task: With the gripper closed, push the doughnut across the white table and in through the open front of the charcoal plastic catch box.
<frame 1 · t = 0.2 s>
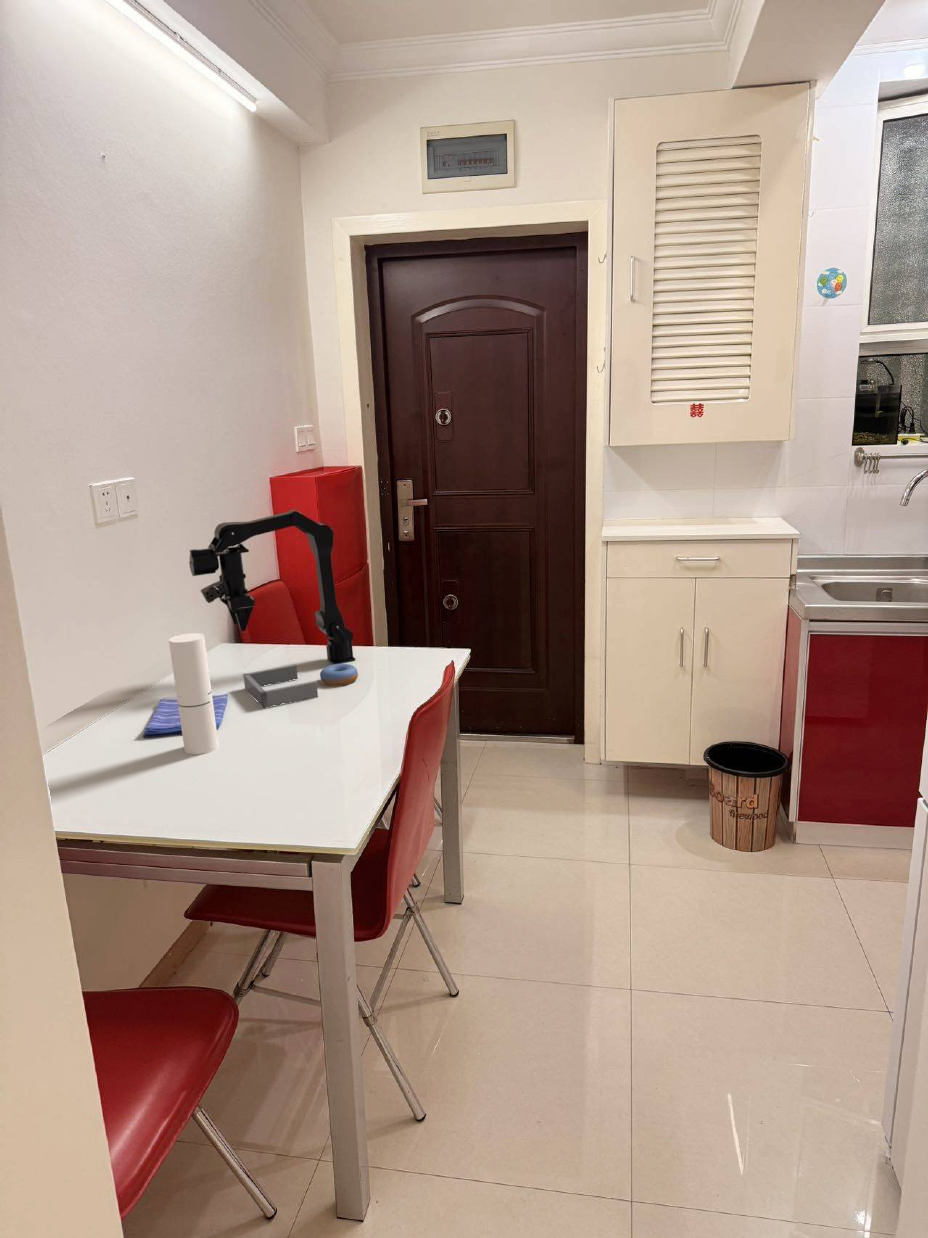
hand: (239, 627, 227), 14 cm above the table, tool pointing down, fingers open, 9 cm apart
doughnut: (339, 682, 225), on the table
cylindrical container: (201, 748, 184), on the table
catch box: (280, 692, 218), on the table
dish towel: (188, 720, 204), on the table
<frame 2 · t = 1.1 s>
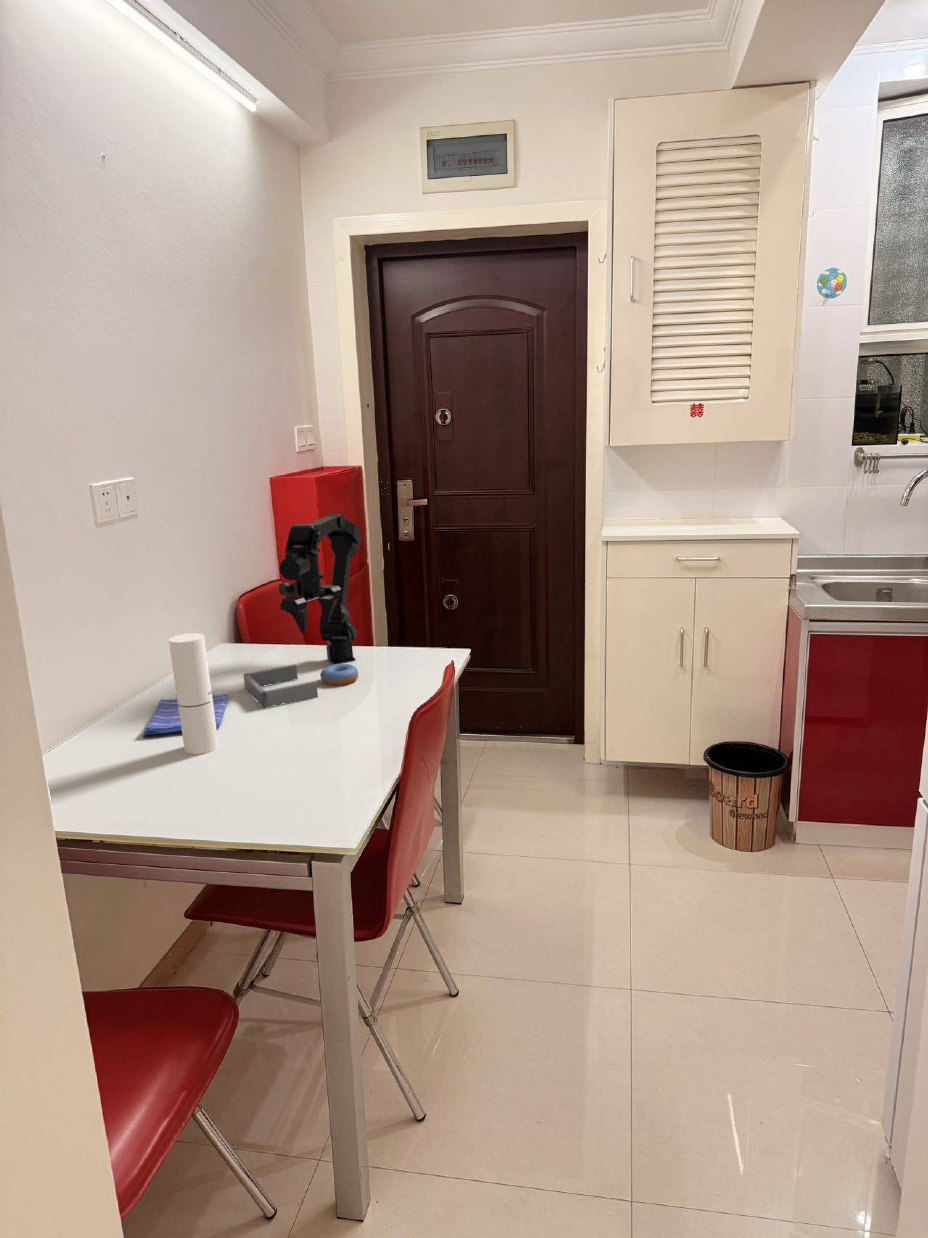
hand: (314, 628, 227), 13 cm above the table, tool pointing down, fingers open, 9 cm apart
nothing on the table moved.
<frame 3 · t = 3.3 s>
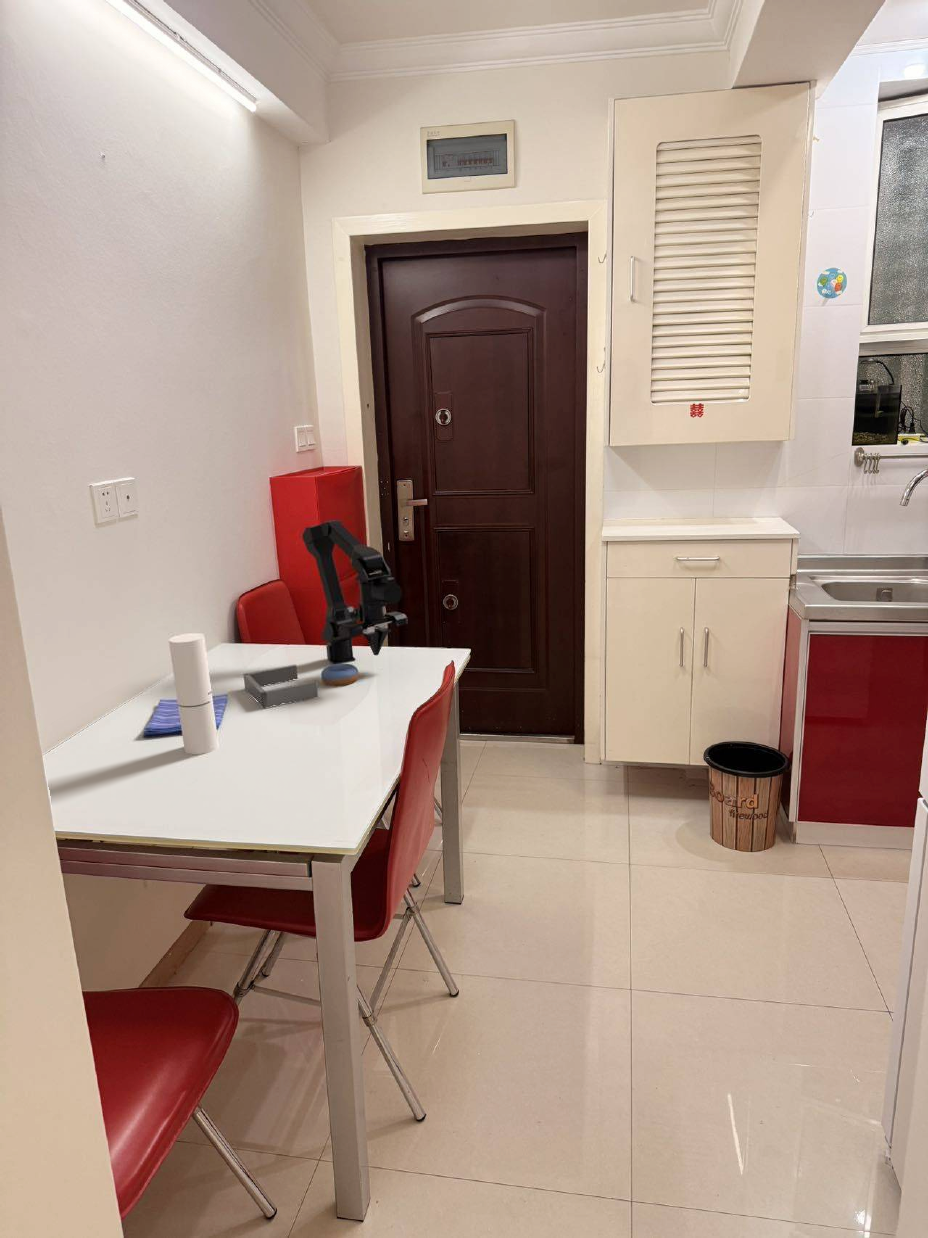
hand: (376, 655, 229), 5 cm above the table, tool pointing down, fingers closed
nothing on the table moved.
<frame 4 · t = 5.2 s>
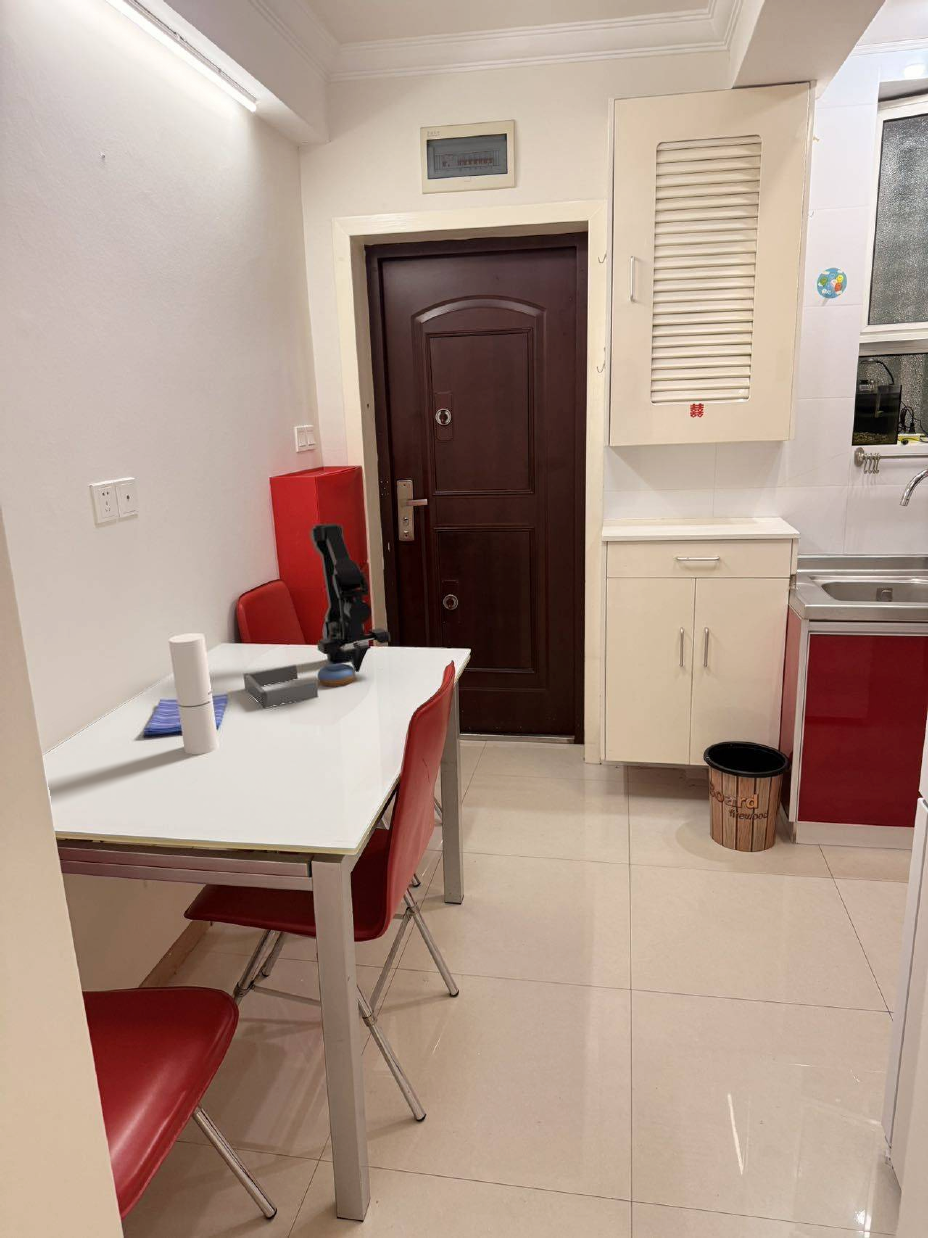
hand: (357, 671, 227), 2 cm above the table, tool pointing down, fingers closed
doughnut: (337, 682, 225), on the table, touching gripper
everything else where it was.
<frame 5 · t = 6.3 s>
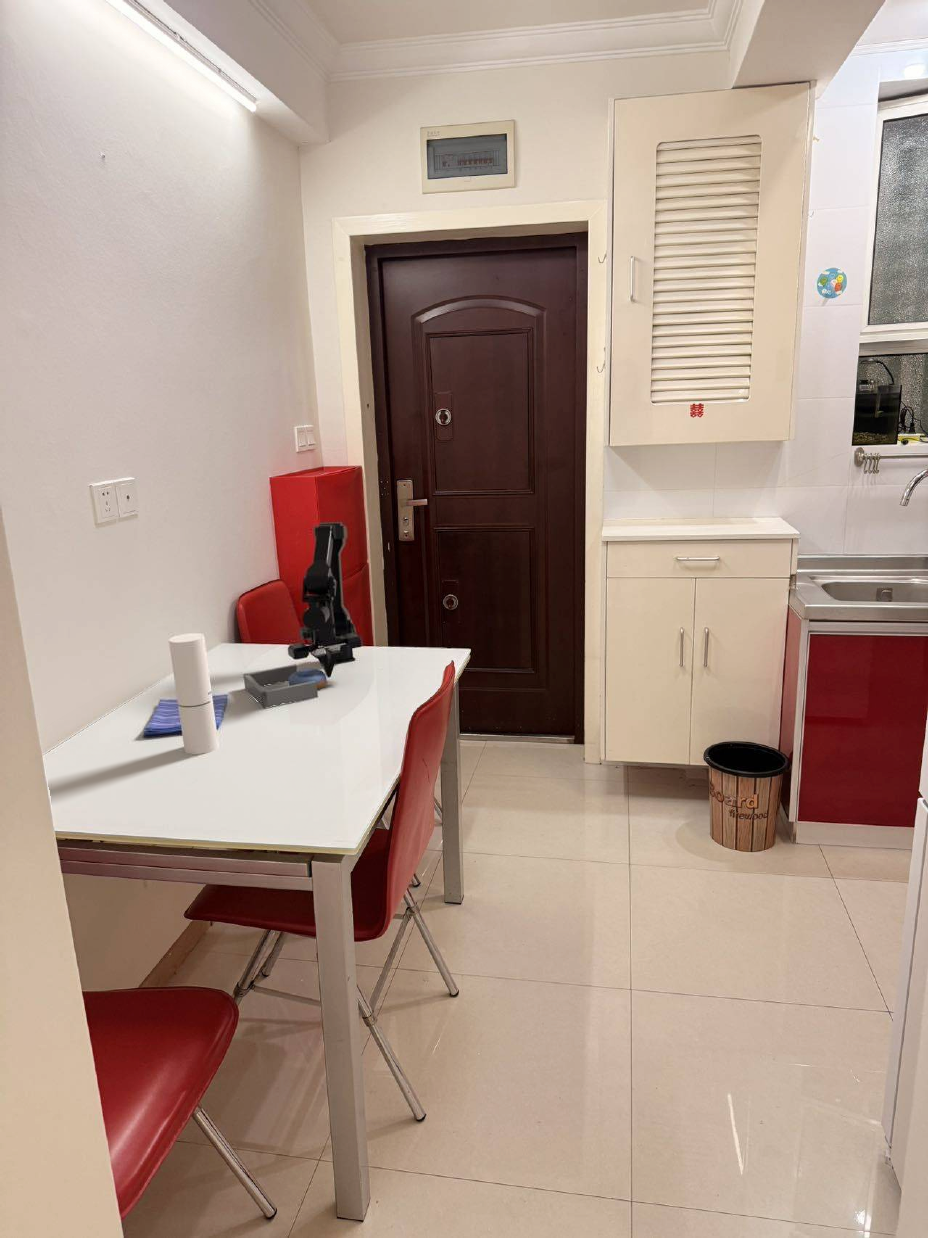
hand: (328, 677, 223), 2 cm above the table, tool pointing down, fingers closed
doughnut: (308, 688, 221), on the table, touching gripper
everything else where it was.
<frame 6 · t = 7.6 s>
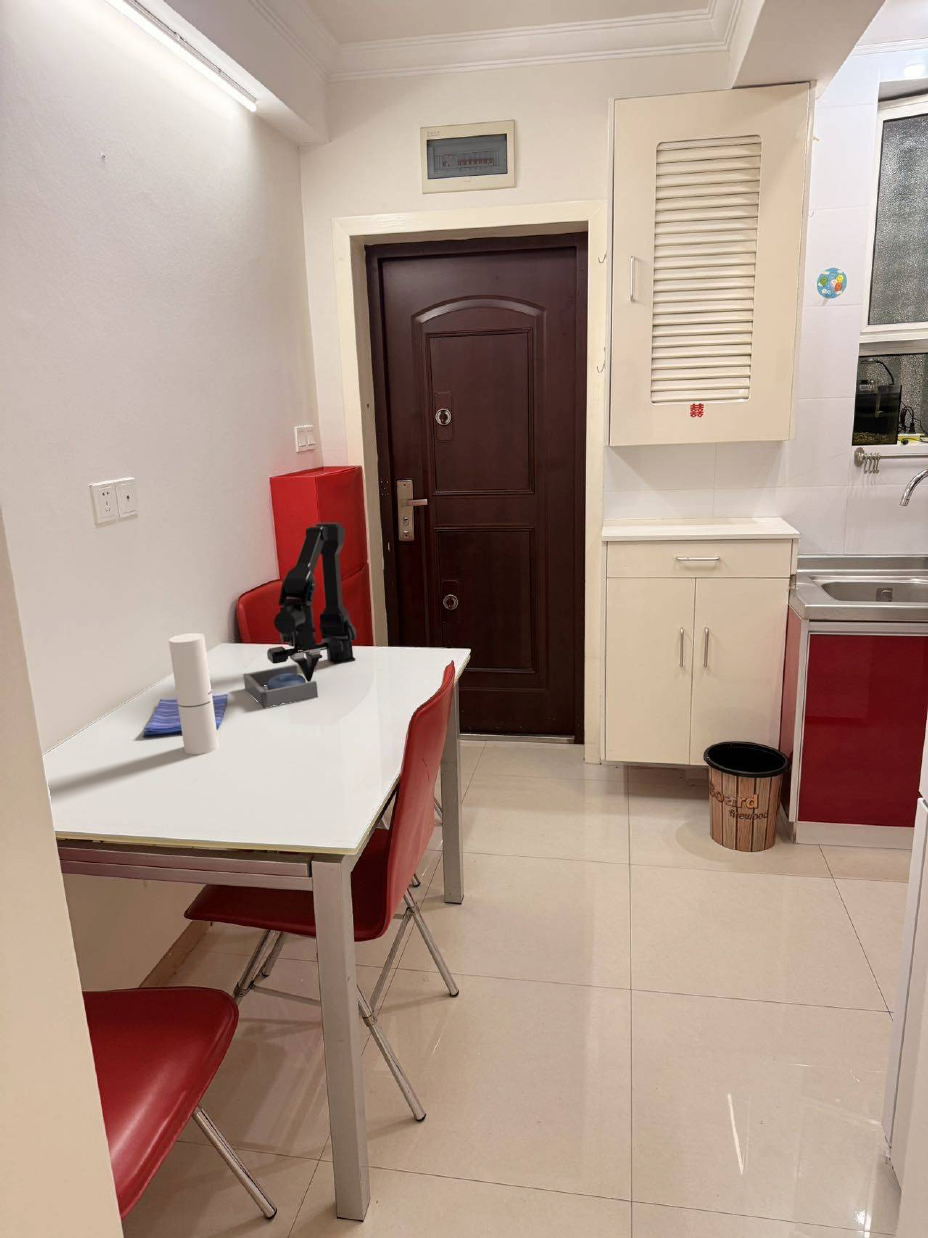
hand: (308, 681, 221), 2 cm above the table, tool pointing down, fingers closed
doughnut: (287, 692, 219), on the table
everything else where it was.
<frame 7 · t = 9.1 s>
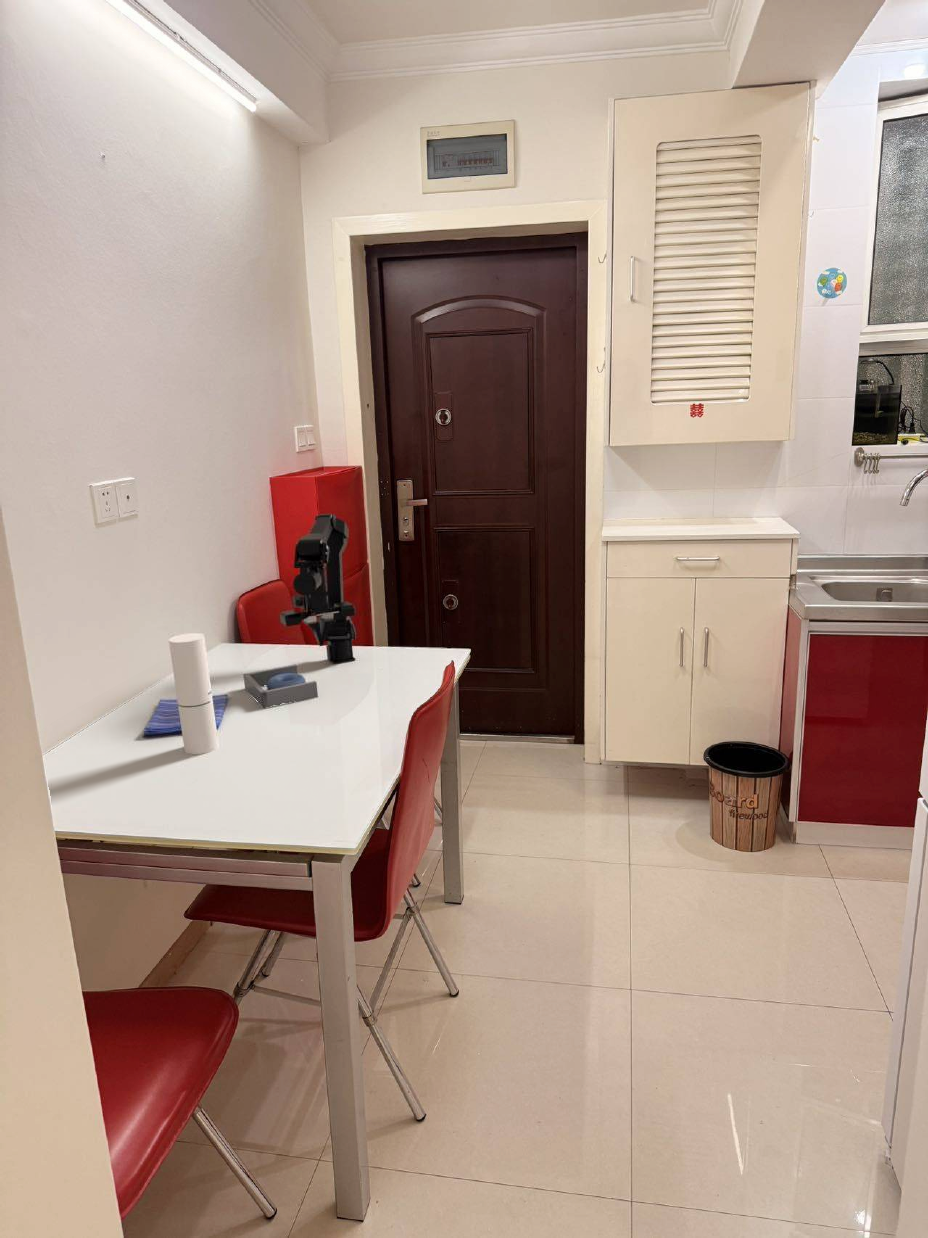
hand: (321, 645, 220), 11 cm above the table, tool pointing down, fingers closed
nothing on the table moved.
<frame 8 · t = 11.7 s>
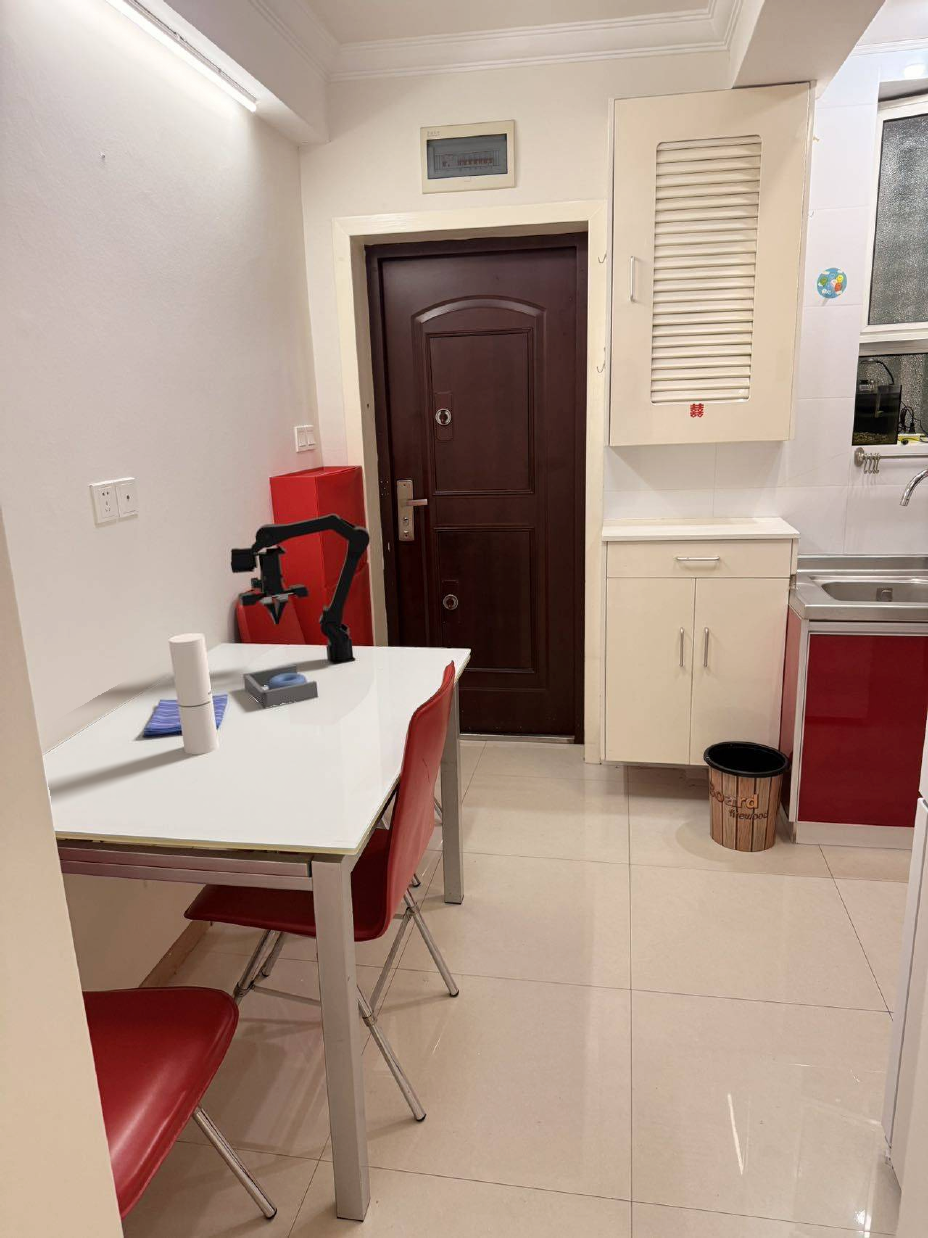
hand: (276, 624, 239), 12 cm above the table, tool pointing down, fingers closed
nothing on the table moved.
at the end: doughnut inside the target area (2.3 cm from its centre), on the table; doughnut tilted 0° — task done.
